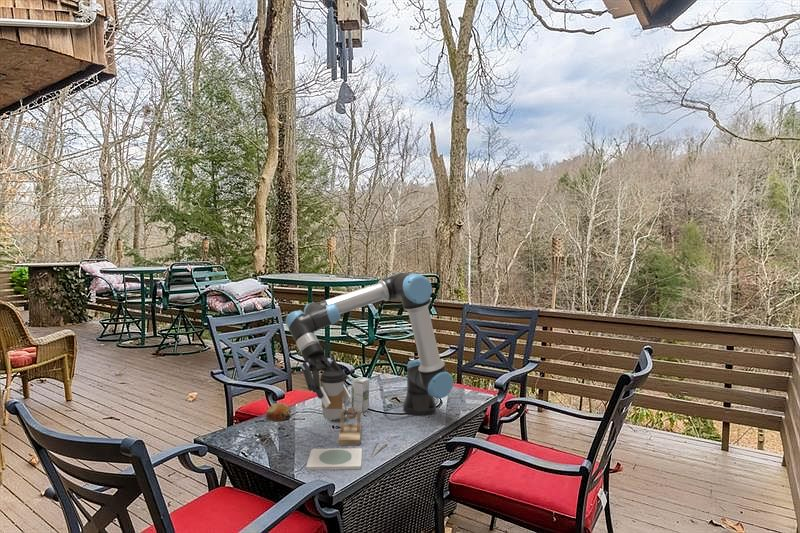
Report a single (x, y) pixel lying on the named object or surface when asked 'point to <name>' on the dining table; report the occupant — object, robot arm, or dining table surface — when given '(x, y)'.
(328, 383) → the coffee cup
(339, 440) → the toy catapult
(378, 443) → the tweezers
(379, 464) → the dining table surface
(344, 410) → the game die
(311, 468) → the board
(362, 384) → the syrup box
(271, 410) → the brown rounded lump
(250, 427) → the dining table surface
